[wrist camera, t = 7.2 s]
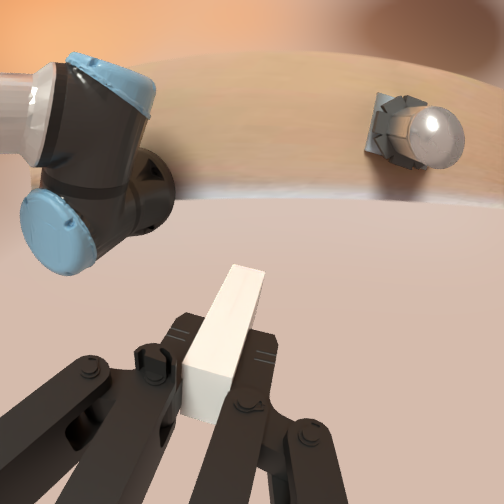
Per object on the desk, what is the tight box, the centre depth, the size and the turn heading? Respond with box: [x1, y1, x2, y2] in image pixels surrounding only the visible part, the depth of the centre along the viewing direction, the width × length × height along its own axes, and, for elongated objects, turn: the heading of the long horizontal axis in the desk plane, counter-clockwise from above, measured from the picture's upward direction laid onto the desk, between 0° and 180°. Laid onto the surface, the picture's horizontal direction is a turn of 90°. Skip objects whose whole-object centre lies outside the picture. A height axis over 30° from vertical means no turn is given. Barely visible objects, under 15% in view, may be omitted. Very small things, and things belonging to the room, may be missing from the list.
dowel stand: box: [365, 92, 427, 170], centre depth 35 cm, size 10×9×12 cm
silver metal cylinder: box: [387, 106, 465, 169], centre depth 32 cm, size 7×7×10 cm
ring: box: [372, 95, 428, 170], centre depth 37 cm, size 10×10×2 cm
